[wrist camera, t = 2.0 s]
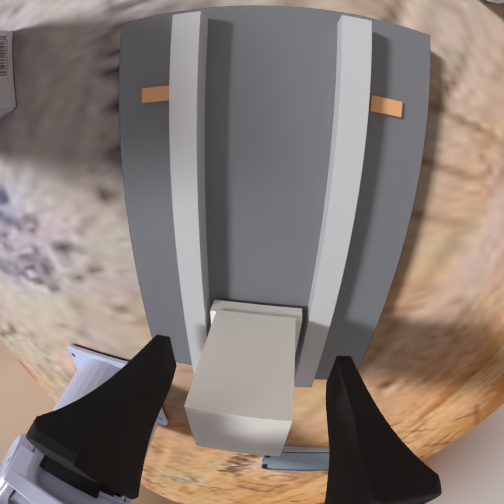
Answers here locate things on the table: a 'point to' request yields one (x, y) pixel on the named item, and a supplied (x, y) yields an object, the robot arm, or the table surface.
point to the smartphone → (298, 459)
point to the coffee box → (6, 74)
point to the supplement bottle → (496, 1)
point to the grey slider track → (271, 168)
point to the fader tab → (245, 379)
